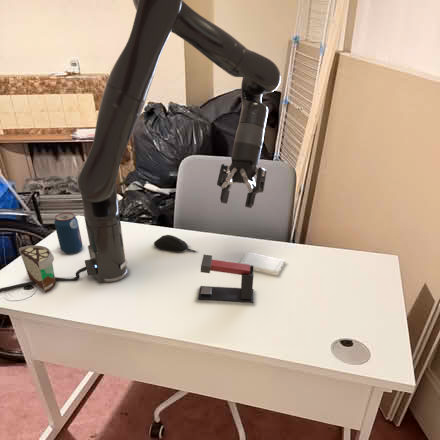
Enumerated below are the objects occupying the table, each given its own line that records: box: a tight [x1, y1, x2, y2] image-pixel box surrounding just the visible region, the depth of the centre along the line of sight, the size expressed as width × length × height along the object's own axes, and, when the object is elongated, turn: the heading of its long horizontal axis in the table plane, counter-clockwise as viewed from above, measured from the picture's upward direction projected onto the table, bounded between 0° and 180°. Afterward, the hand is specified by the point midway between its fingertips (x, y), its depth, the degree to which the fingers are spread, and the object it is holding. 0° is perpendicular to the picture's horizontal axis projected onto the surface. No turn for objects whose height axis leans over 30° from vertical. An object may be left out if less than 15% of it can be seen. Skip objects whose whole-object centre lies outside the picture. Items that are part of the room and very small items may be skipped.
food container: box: [18, 245, 57, 293], centre depth 111 cm, size 12×6×10 cm, turn 47°
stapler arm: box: [200, 254, 250, 276], centre depth 104 cm, size 13×6×2 cm, turn 86°
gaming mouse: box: [153, 234, 196, 253], centre depth 131 cm, size 6×15×4 cm, turn 70°
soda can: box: [53, 212, 84, 255], centre depth 126 cm, size 7×7×12 cm
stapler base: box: [197, 265, 254, 304], centre depth 107 cm, size 15×6×9 cm, turn 86°
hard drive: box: [239, 251, 286, 276], centre depth 123 cm, size 2×8×12 cm
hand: (235, 205), depth 109 cm, fingers open, 8 cm apart
